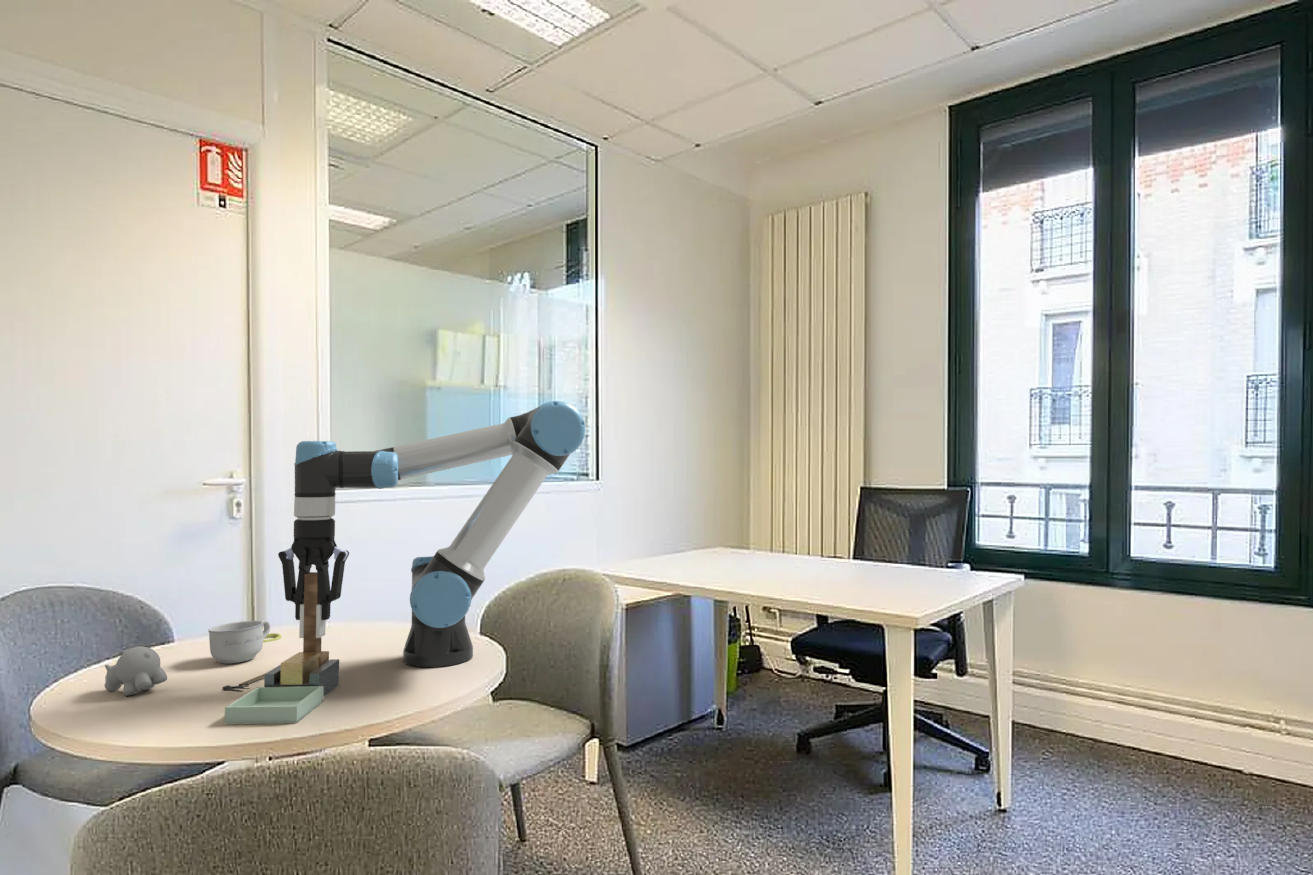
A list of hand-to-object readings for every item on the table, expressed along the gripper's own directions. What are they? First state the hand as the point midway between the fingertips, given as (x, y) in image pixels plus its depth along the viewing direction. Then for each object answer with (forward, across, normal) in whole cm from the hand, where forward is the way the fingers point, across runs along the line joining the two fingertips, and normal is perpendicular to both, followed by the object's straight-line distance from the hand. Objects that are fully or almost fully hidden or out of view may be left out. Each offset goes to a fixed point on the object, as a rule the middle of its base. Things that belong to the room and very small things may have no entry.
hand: (312, 636), depth 151 cm
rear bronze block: (+7, 0, +4) cm, 8 cm away
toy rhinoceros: (+10, +33, +3) cm, 35 cm away
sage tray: (+10, -1, +16) cm, 19 cm away
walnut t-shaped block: (+6, 0, 0) cm, 6 cm away
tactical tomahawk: (+10, +11, -6) cm, 16 cm away
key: (+11, +30, -40) cm, 52 cm away
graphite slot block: (+10, 0, +5) cm, 11 cm away
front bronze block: (+7, 0, +8) cm, 10 cm away
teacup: (+10, +24, -21) cm, 33 cm away
